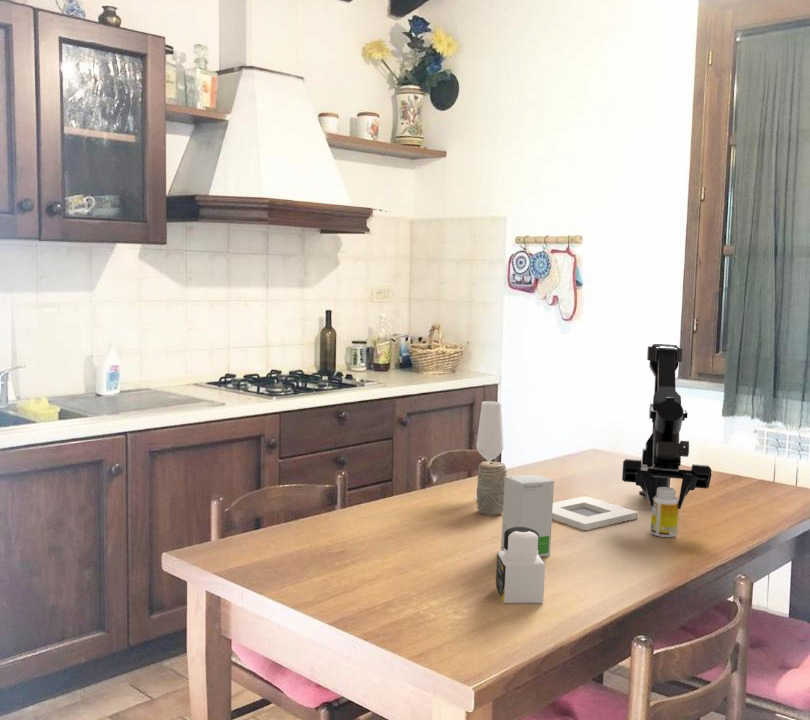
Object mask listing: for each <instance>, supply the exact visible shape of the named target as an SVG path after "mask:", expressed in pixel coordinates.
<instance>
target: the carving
mask: <svg viewBox="0 0 810 720" xmlns="http://www.w3.org/2000/svg"><path fill="white" fill-rule="evenodd" d="M506 466H507V465H506V464H505V463H503V462H501V461H500V462H499V461H487V460H485V461H482V462H480V463H479V465H478V470H477V471H478V473H477V487H476V496H477V500H476V504H477V505H476V506H477V512H478V513H479V514H480V515H484V516H489V517H490V516H497V515H500V514H503V504H504V482H505V480H504V477H505V476H508V475H507V474H508V473H507V468H506Z"/></svg>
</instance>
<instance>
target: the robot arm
mask: <svg viewBox="0 0 810 720" xmlns="http://www.w3.org/2000/svg"><path fill="white" fill-rule="evenodd" d="M646 355H647V357H646V359H647V361H649V369H650V371H651V372H652V374H653V377H654V389H653V390H654V391H653V392H654V394H653V399H652V403H650V404H649V411H648V413H649V414H648V417H649V419H650V420H651V422H652V433H651V434H650V436H649V437H648V438H647V440H646V442H645V447H644V448H642V454H641V459H632V458H625V459H624V460H623V461H622V462H623V463H622V476H621V481H622V482H624V483H625V482H626V483H634V484H635V485H636V486H637V487H638V486H639V487H640V488H641V491H638V494H640V495H643V496H645V498H646V499H647V502H648V504H649V507H651V508H652V504H653V497H654V496H656V494H657V493H656V492H657V488H658V487H670V488H671V479H678V480H682V481H681V487H680V491H679V497H678V500H679V505H678V510H681V509H682V506H683V505H684V501H685V499H686V497H687V496H688V494H689V492H690V491H695V489H709V488H710V483H711V479H712V468H711V467H710V466H709V465H708V464H707V465H706V464H705V465H704V464H695V463H694V464H693V463H692V465H691V470H690V469H680V466H681V464H682V463H681V462H682V460H681V459H682V458H681V457H683V458H685V457H686V458H687V457H689V454H690V441H689V440H688V441H687V440H680V431H681V429H682V424H683V422H684V421H685V420H686V419H688V411H687V410H686V409H685V406H684V405H682V397H681V395H680V394H679V393H678V392H677V391H676V371H677V369H678V367H679V363H683V347H679V346H678V343H674V342H672V343H671V342H655V341H654V342H652V345H651V346H650V345H649V346H647V353H646Z"/></svg>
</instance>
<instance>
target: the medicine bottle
mask: <svg viewBox="0 0 810 720" xmlns="http://www.w3.org/2000/svg"><path fill="white" fill-rule="evenodd" d="M538 551H539V534H538V532H537V531H535V530H533V529H531V528H527V527H513V528H510V529H507V530H506V531H505V533H504V551H501V550H497V552H496V573H495V574H496V575H495V576H496V577H495V589H496V591H497V594H498V596H499V597H500V599H501V601H502V603H503V604H543V603H544V594H545V578H546V576H545V574H546V573H545V571H546V563H544V560H542V557H539V555H538Z"/></svg>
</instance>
